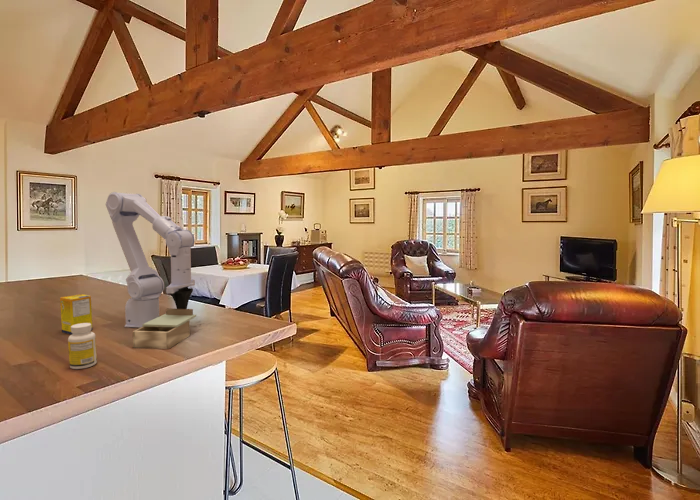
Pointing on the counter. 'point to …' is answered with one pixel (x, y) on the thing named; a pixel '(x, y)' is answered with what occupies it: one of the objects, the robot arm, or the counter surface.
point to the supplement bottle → (82, 346)
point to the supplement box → (75, 311)
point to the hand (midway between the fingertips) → (182, 312)
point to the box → (160, 336)
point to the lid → (171, 318)
